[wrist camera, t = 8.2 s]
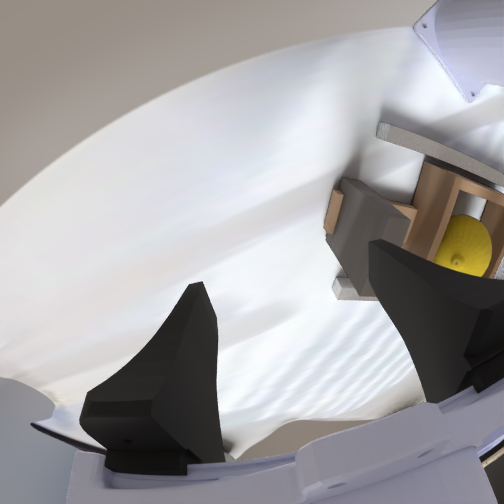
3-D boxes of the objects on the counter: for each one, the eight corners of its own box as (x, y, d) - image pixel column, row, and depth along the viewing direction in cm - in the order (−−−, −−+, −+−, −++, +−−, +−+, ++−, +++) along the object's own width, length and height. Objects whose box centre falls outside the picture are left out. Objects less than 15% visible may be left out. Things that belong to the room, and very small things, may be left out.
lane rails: (539, 195, 22) (547, 200, 21) (497, 293, 29) (504, 300, 27) (379, 122, 18) (389, 124, 17) (332, 288, 25) (337, 299, 24)
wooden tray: (496, 189, 21) (544, 220, 15) (459, 280, 26) (495, 321, 20) (344, 137, 18) (397, 161, 12) (311, 270, 24) (337, 331, 17)
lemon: (467, 196, 21) (460, 208, 16) (502, 243, 20) (505, 271, 14) (429, 234, 25) (408, 256, 20) (462, 277, 23) (449, 313, 18)
